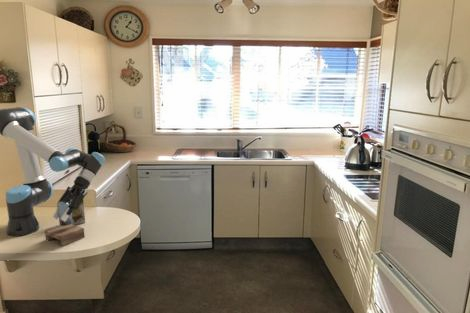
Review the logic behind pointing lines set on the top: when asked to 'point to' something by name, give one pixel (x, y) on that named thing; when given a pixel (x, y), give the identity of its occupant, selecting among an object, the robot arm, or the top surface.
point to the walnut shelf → (65, 234)
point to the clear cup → (62, 208)
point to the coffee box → (78, 214)
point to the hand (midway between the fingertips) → (58, 219)
